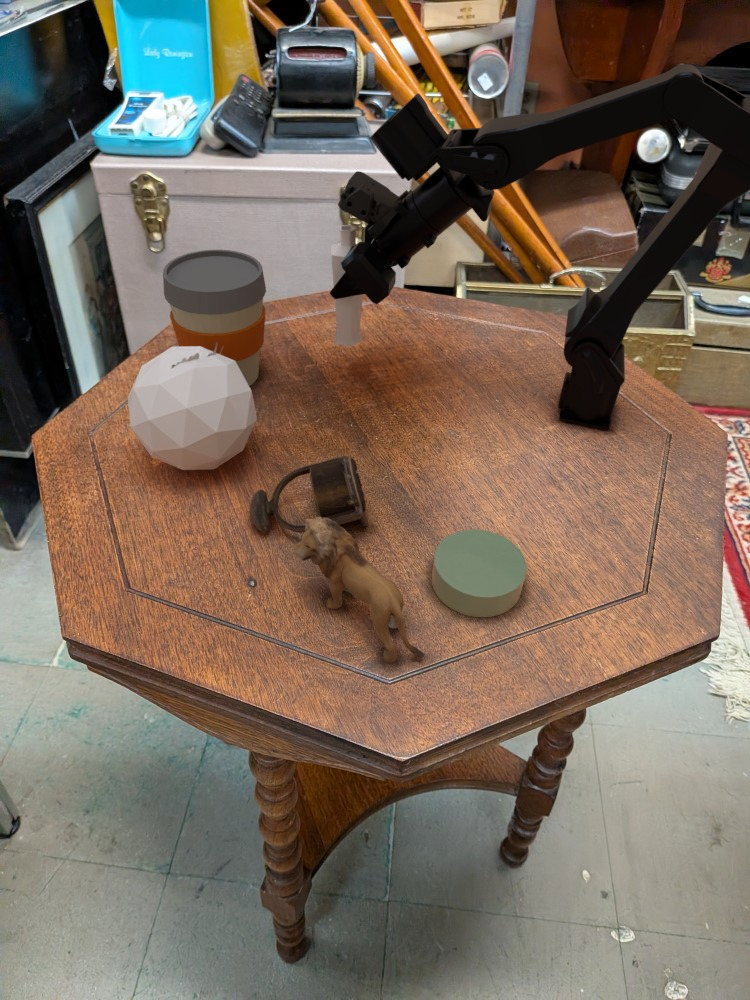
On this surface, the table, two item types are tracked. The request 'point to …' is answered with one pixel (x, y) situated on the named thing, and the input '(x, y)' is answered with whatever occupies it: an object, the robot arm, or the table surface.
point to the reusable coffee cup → (218, 304)
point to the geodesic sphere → (192, 408)
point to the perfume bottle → (348, 306)
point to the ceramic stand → (478, 573)
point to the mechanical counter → (318, 495)
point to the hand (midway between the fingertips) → (337, 287)
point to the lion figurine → (355, 579)
